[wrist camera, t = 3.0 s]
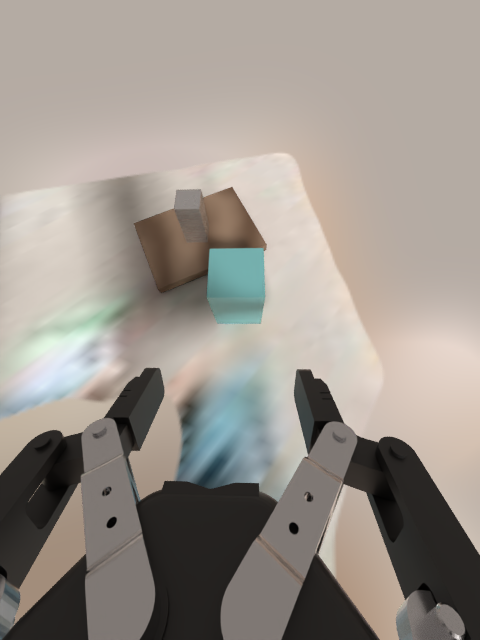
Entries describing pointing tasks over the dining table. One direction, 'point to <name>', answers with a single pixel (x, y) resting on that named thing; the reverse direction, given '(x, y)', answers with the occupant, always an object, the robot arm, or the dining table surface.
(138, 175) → the dining table surface
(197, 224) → the post
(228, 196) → the board
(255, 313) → the teal foam cube
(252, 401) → the dining table surface
